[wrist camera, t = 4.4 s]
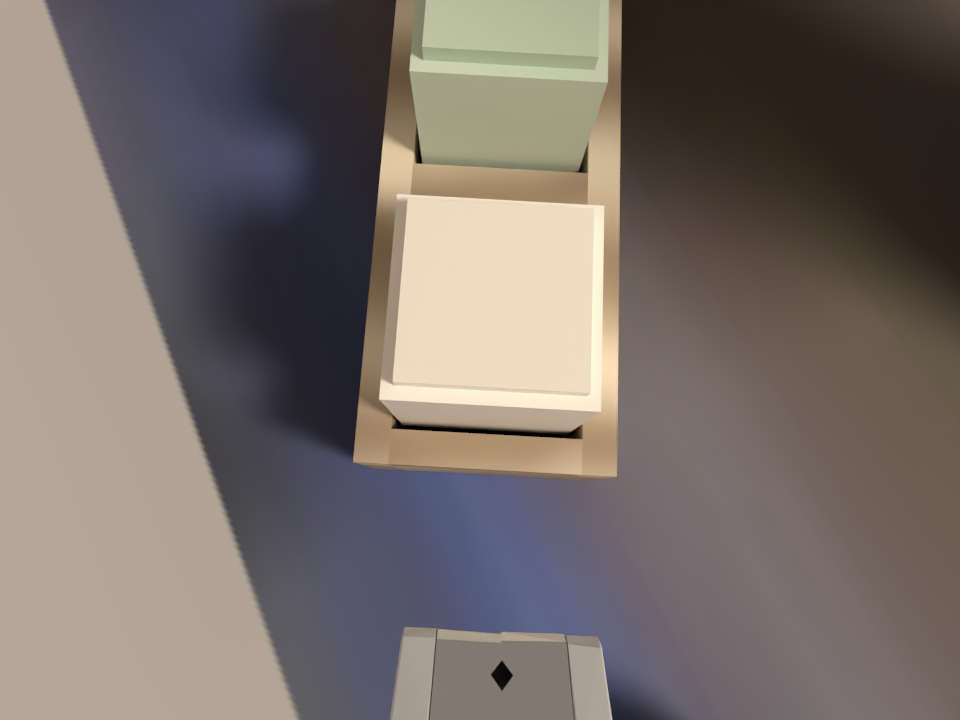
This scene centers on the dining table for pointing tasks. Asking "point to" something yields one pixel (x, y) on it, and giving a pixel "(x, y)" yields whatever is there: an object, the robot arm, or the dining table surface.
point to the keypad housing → (404, 173)
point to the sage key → (508, 81)
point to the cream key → (494, 314)
